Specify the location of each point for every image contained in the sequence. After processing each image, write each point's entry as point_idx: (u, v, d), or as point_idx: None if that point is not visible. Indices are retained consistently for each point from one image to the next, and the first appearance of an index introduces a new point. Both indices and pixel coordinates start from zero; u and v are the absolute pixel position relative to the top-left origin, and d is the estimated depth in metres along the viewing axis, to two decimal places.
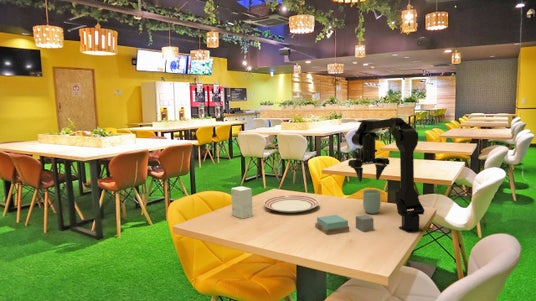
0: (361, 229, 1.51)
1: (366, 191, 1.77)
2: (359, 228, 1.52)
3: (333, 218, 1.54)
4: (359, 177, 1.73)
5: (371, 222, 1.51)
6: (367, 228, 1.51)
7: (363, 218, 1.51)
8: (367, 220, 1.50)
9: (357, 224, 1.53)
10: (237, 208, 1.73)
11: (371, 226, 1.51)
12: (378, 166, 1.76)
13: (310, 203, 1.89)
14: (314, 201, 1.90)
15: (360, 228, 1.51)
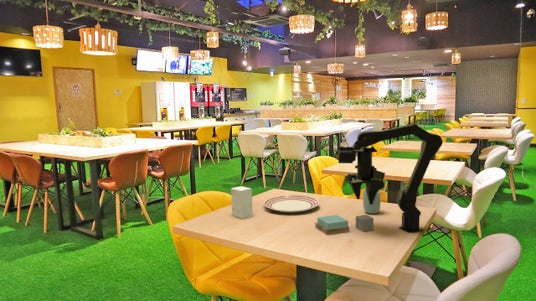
0: (361, 229, 1.51)
1: None
2: (359, 228, 1.52)
3: (333, 218, 1.53)
4: None
5: (371, 222, 1.51)
6: (367, 228, 1.51)
7: (363, 218, 1.51)
8: (367, 220, 1.50)
9: (357, 224, 1.53)
10: (237, 208, 1.73)
11: (371, 226, 1.51)
12: None
13: (310, 203, 1.89)
14: (314, 201, 1.90)
15: (360, 228, 1.51)
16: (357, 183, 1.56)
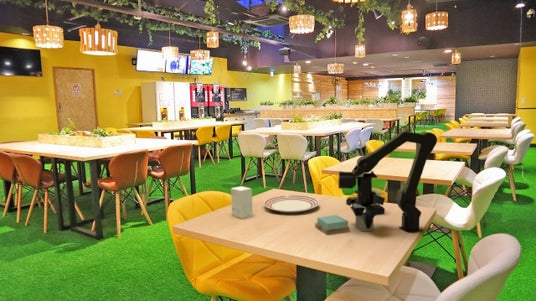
0: (361, 229, 1.51)
1: None
2: (359, 228, 1.52)
3: (333, 218, 1.53)
4: None
5: None
6: None
7: (363, 218, 1.51)
8: None
9: (357, 224, 1.53)
10: (237, 208, 1.73)
11: (371, 226, 1.51)
12: None
13: (310, 203, 1.89)
14: (314, 201, 1.90)
15: (360, 228, 1.51)
16: (359, 208, 1.55)
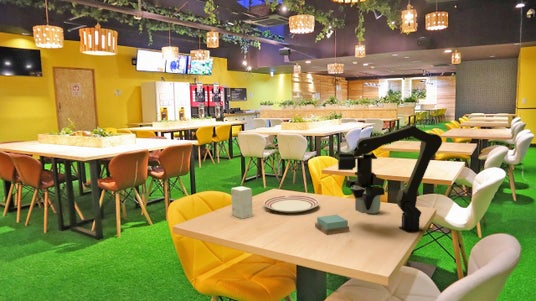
0: (361, 210, 1.50)
1: None
2: (359, 210, 1.51)
3: (333, 218, 1.54)
4: None
5: None
6: (367, 210, 1.50)
7: (363, 199, 1.50)
8: None
9: (357, 206, 1.52)
10: (237, 208, 1.73)
11: (371, 207, 1.50)
12: None
13: (310, 203, 1.89)
14: (314, 201, 1.90)
15: (360, 209, 1.50)
16: (359, 190, 1.54)
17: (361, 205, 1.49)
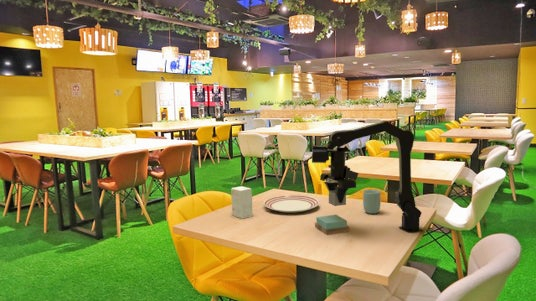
0: (333, 203, 1.50)
1: (366, 191, 1.77)
2: (332, 202, 1.51)
3: (332, 218, 1.54)
4: None
5: (344, 196, 1.50)
6: None
7: None
8: None
9: (330, 198, 1.52)
10: (237, 208, 1.73)
11: (343, 200, 1.50)
12: None
13: (310, 203, 1.89)
14: (314, 201, 1.90)
15: (332, 202, 1.51)
16: (333, 183, 1.54)
17: (334, 198, 1.49)
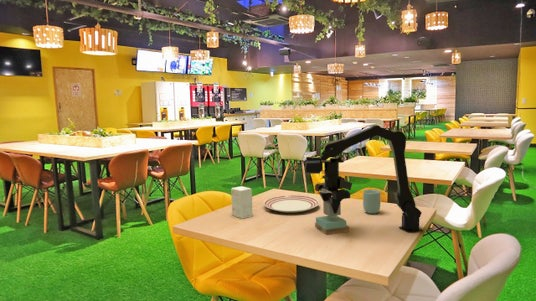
0: (328, 214, 1.50)
1: (366, 191, 1.77)
2: (326, 213, 1.52)
3: (332, 218, 1.54)
4: None
5: None
6: (334, 213, 1.50)
7: (330, 203, 1.51)
8: None
9: (325, 209, 1.53)
10: (237, 208, 1.73)
11: (338, 211, 1.51)
12: None
13: (310, 203, 1.89)
14: (314, 201, 1.90)
15: (327, 213, 1.51)
16: (327, 194, 1.55)
17: (328, 208, 1.50)
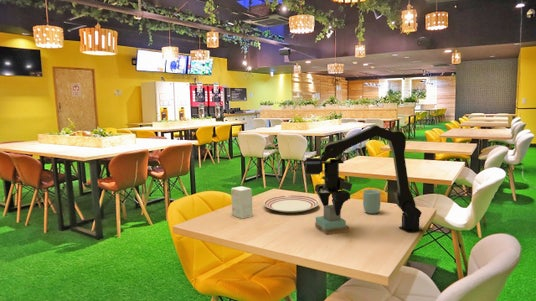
0: (328, 218, 1.51)
1: (366, 191, 1.77)
2: (326, 217, 1.52)
3: None
4: None
5: None
6: (334, 218, 1.51)
7: (330, 207, 1.51)
8: (334, 210, 1.50)
9: (325, 213, 1.53)
10: (237, 208, 1.73)
11: None
12: None
13: (310, 203, 1.89)
14: (314, 201, 1.90)
15: (327, 217, 1.51)
16: (325, 194, 1.57)
17: (328, 213, 1.50)
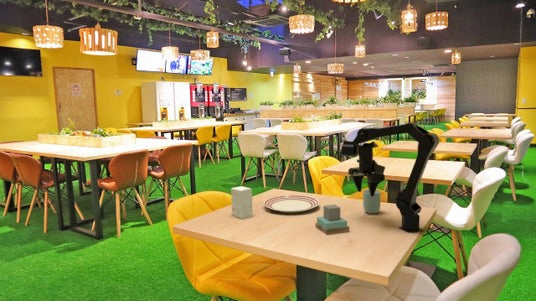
0: (328, 218, 1.51)
1: (366, 191, 1.77)
2: (326, 217, 1.52)
3: None
4: None
5: (338, 211, 1.51)
6: (334, 218, 1.51)
7: (330, 207, 1.51)
8: (333, 210, 1.50)
9: (325, 213, 1.54)
10: (237, 208, 1.73)
11: (338, 215, 1.51)
12: None
13: (310, 203, 1.89)
14: (314, 201, 1.90)
15: (327, 217, 1.52)
16: (358, 176, 1.65)
17: (328, 213, 1.51)
